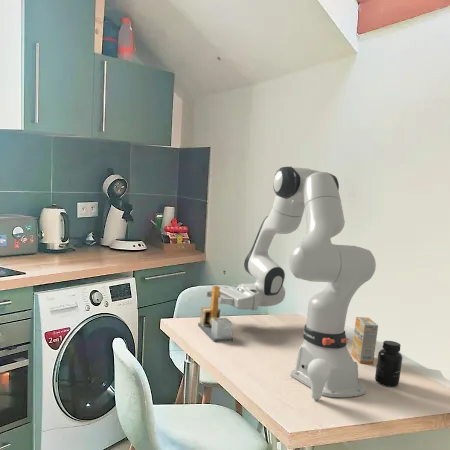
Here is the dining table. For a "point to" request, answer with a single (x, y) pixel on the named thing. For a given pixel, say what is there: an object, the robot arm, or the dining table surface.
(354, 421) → the dining table surface
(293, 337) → the dining table surface
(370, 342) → the supplement box
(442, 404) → the dining table surface
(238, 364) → the dining table surface
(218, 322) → the matte gray cube
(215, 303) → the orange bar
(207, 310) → the socket block
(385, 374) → the supplement bottle
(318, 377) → the lightbulb
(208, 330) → the slate board
